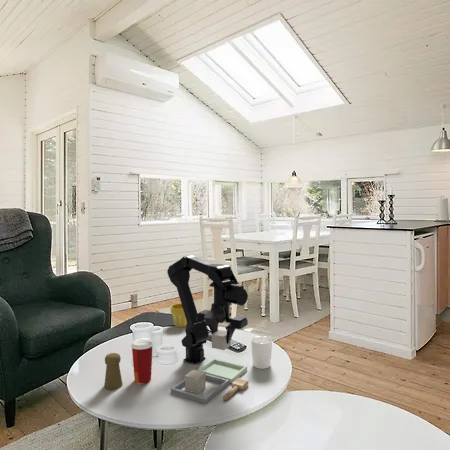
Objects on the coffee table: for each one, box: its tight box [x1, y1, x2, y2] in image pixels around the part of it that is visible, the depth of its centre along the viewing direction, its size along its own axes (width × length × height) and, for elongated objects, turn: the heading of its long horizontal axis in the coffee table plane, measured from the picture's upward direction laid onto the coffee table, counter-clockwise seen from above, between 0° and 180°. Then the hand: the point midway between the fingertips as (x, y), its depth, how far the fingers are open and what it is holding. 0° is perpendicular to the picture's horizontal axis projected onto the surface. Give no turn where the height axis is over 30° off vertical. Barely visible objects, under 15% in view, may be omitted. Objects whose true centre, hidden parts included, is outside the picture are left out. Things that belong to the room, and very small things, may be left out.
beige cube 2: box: [184, 369, 207, 394], centre depth 129 cm, size 5×5×5 cm
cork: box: [103, 352, 123, 391], centre depth 131 cm, size 6×6×11 cm
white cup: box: [250, 335, 273, 370], centre depth 147 cm, size 8×8×10 cm
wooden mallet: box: [222, 377, 249, 401], centre depth 126 cm, size 13×4×2 cm, turn 149°
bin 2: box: [196, 357, 248, 384], centre depth 141 cm, size 15×12×2 cm
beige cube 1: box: [211, 329, 232, 351], centre depth 140 cm, size 5×5×5 cm
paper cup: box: [130, 337, 154, 385], centre depth 135 cm, size 8×8×14 cm
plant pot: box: [170, 302, 187, 328], centre depth 193 cm, size 10×10×10 cm
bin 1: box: [170, 374, 230, 405], centre depth 129 cm, size 14×15×2 cm
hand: (221, 342), depth 140 cm, fingers closed on beige cube 1, 5 cm apart
